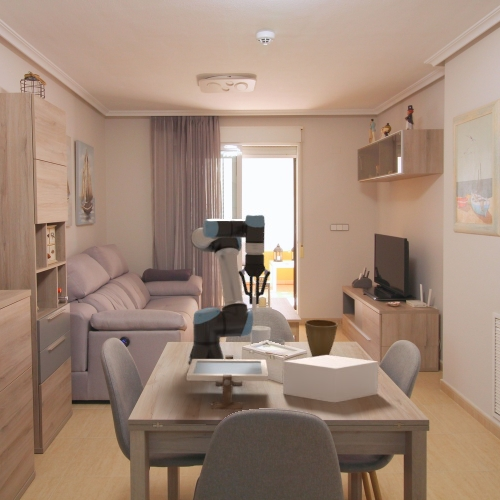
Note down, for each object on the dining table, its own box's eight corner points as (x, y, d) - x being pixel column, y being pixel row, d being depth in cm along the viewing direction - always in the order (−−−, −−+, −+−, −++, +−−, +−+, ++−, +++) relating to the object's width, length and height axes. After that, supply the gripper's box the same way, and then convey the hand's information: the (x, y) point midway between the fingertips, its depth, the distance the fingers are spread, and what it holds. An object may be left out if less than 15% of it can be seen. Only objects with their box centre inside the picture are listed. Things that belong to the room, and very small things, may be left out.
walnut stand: (212, 408, 177) (212, 376, 176) (216, 382, 204) (216, 354, 204) (241, 408, 177) (241, 377, 177) (241, 382, 204) (242, 355, 204)
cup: (274, 359, 237) (274, 337, 237) (288, 363, 232) (288, 341, 231) (262, 363, 232) (262, 340, 231) (275, 367, 226) (275, 344, 225)
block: (280, 386, 201) (281, 354, 200) (371, 386, 202) (372, 355, 201) (285, 403, 184) (285, 368, 183) (384, 403, 185) (385, 368, 184)
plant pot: (300, 359, 239) (300, 324, 237) (309, 351, 252) (310, 318, 251) (332, 362, 233) (333, 327, 232) (339, 354, 247) (340, 321, 246)
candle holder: (263, 357, 241) (264, 331, 240) (245, 353, 246) (245, 328, 246) (274, 352, 250) (274, 327, 249) (256, 349, 255) (256, 324, 254)
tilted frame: (186, 381, 179) (186, 375, 179) (192, 363, 201) (192, 358, 201) (268, 382, 180) (268, 376, 180) (265, 364, 201) (265, 359, 201)
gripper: (238, 254, 204) (237, 314, 206) (271, 254, 205) (270, 314, 206) (238, 252, 212) (237, 310, 214) (270, 253, 212) (269, 310, 214)
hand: (254, 312), depth 210 cm, fingers closed
